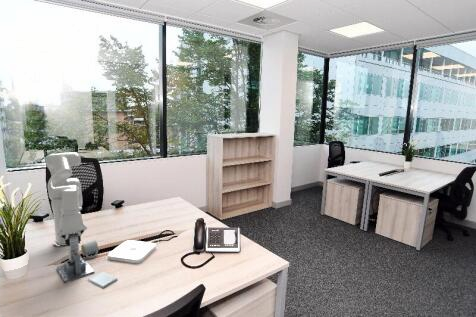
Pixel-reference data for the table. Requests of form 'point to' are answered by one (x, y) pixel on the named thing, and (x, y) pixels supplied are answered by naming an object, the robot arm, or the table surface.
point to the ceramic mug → (90, 249)
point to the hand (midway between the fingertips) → (73, 243)
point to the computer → (132, 251)
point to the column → (73, 245)
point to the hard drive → (102, 279)
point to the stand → (74, 269)
